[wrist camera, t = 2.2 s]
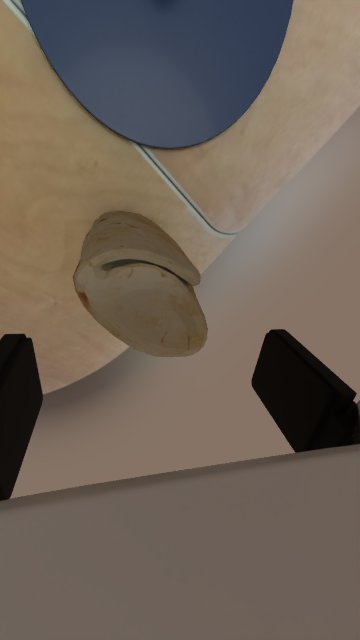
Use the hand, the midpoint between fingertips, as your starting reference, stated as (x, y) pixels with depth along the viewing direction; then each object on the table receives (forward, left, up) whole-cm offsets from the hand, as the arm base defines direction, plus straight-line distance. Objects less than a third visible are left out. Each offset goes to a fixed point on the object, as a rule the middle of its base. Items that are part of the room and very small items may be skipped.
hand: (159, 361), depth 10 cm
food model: (0, 0, -24) cm, 24 cm away
